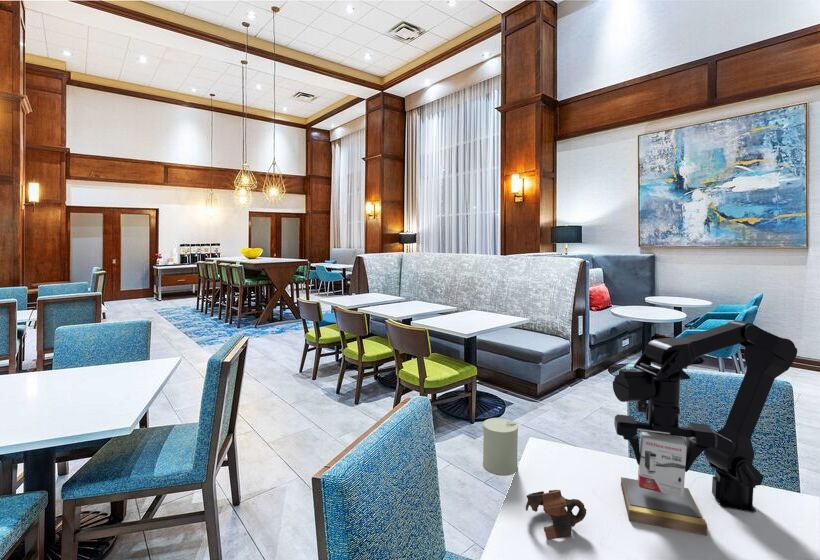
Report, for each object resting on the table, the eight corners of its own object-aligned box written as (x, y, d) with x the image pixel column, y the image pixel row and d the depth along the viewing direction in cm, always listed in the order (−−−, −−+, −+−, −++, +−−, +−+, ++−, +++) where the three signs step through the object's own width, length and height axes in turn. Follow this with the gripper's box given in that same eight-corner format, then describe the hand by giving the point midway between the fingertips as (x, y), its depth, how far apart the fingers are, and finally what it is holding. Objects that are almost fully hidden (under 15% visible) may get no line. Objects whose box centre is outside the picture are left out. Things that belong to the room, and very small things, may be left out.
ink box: (638, 488, 92) (640, 436, 91) (637, 477, 97) (639, 428, 96) (684, 498, 88) (687, 445, 87) (682, 487, 93) (684, 435, 92)
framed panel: (687, 496, 97) (688, 487, 97) (706, 535, 84) (707, 524, 84) (620, 485, 102) (621, 476, 102) (628, 520, 89) (629, 510, 88)
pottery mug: (532, 543, 83) (521, 497, 86) (533, 535, 91) (523, 493, 95) (594, 535, 81) (581, 488, 84) (590, 527, 89) (577, 485, 92)
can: (523, 474, 107) (524, 428, 106) (489, 477, 106) (489, 431, 105) (509, 456, 116) (510, 414, 115) (477, 459, 115) (478, 417, 114)
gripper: (703, 391, 95) (700, 456, 96) (612, 382, 102) (611, 444, 103) (719, 409, 85) (716, 482, 86) (618, 398, 91) (616, 467, 92)
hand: (661, 467), depth 92 cm, fingers closed on ink box, 9 cm apart
